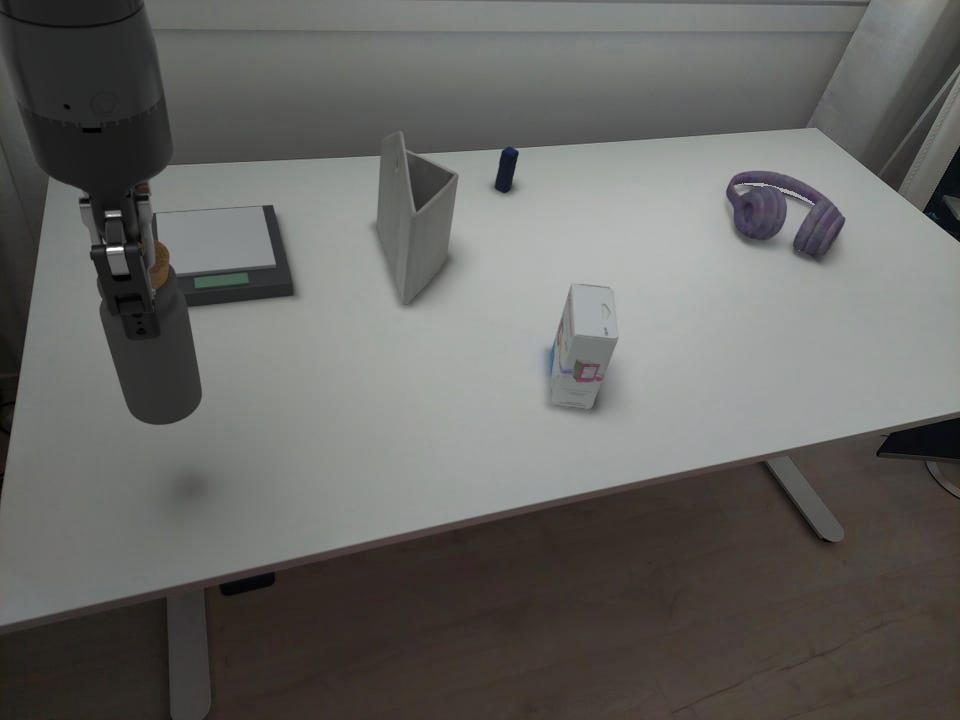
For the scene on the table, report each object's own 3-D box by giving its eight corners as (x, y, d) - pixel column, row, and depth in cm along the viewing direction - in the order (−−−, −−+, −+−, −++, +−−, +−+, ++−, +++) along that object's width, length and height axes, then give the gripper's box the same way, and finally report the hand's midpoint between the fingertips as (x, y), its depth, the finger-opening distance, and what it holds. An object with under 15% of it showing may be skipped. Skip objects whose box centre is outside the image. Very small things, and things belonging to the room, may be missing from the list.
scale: (152, 311, 83) (148, 293, 81) (146, 227, 93) (142, 209, 91) (293, 296, 88) (292, 278, 86) (273, 217, 98) (272, 200, 96)
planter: (462, 299, 92) (486, 169, 78) (402, 306, 90) (416, 172, 76) (430, 223, 102) (446, 95, 89) (375, 226, 100) (383, 96, 86)
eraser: (492, 188, 111) (500, 149, 106) (501, 183, 112) (509, 144, 107) (503, 195, 110) (512, 156, 105) (512, 189, 112) (520, 150, 107)
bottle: (167, 361, 62) (136, 219, 51) (218, 394, 61) (196, 255, 50) (110, 402, 58) (63, 258, 48) (162, 438, 57) (127, 297, 46)
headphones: (839, 272, 109) (818, 218, 125) (867, 224, 104) (841, 174, 120) (721, 239, 110) (715, 190, 126) (743, 190, 105) (734, 145, 121)
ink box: (547, 352, 88) (571, 279, 80) (587, 357, 89) (614, 285, 80) (549, 405, 82) (575, 332, 74) (592, 410, 83) (622, 339, 74)
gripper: (21, 24, 43) (86, 247, 55) (0, 156, 34) (83, 386, 46) (156, 27, 45) (190, 239, 58) (169, 151, 37) (206, 370, 49)
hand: (142, 304), depth 52 cm, fingers closed on bottle, 5 cm apart
